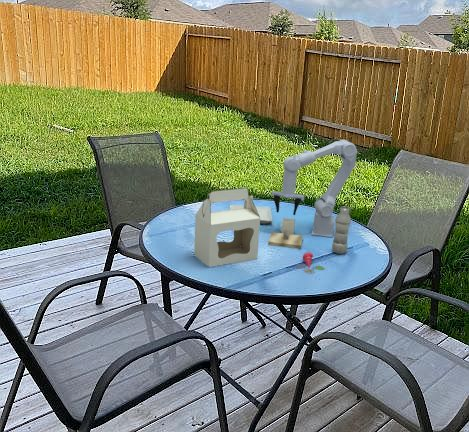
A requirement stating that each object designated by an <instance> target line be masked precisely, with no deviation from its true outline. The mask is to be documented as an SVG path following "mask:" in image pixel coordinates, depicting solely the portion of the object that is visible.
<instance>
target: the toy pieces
mask: <svg viewBox="0 0 469 432" xmlns="http://www.w3.org/2000/svg"><path fill="white" fill-rule="evenodd" d="M313 258H314V254H313V253H312V252H309V251H307V252H305V253H304V254H302V260H303V262H304V263H305V264H306V265H305V264H302V263H301V264H300V263H297V264H296V265H295V266H296V268H297V269H304V270H303V272H304V273H305V274H309V273H310V274H313V270H312V269H310V267H311V265H312V261H313ZM306 267H308V268H306ZM305 268H306V269H305ZM313 269H314V270H317V271H324V270H325V267H323V266H321V265H315V266H314V267H313Z"/></svg>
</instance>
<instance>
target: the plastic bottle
mask: <svg viewBox="0 0 469 432" xmlns="http://www.w3.org/2000/svg"><path fill="white" fill-rule="evenodd" d="M349 213H350V207H349V206H345V205H343V206H340V208H339V213H338V214H337V216H335V221H334V222H335V228H334V236H333V241H332V244H331V250H332V251H333V252H334V253H336V254H340V255H342V254H345V253H346V252H347V251H348V244H349V243H348V238H349V237H348V235H349V229H350V227H351V223H352V218H351V216H350V214H349Z"/></svg>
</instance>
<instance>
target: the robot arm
mask: <svg viewBox="0 0 469 432" xmlns="http://www.w3.org/2000/svg"><path fill="white" fill-rule="evenodd" d="M331 154H335V155H339V156H340V158H341V162H342V164H341V165H340V167H339V169H338V170H337V172H336V174H335V175H334V176H333V177H334V178H333V179H332V181H331V182H330V184H329V186H328V187H327V189H326V190H325V192H324V193H323V194H321V195H320V196H319V198H317V199H316V200H315V202H314V205H313V207H314V209H315V212H314V217H313V218H314V219H313V226H312V227H313V228H311V235H312V236H317V237H318V236H319V237H327V238H328V237H329V238H334V236H333V235H334V233H335V222H336V221H335V220H336V216H334V215H332V214H333V213H334V208H335V206H336V199H337V197H338V195H339V194H340V192H341V190H342V189H343V187H344V185H346V182H347V181H348V179H349V177H350V175H351V174H352V172H353V171H354V168H355V167H356V164H357V154H358V149H357V146H356V145H355V144H354V143H352V142H350V141H348V140H346V139H339V140H335V141H334V142H332V143H330V144H328V145H326V146H323V147H320V148H318V149H316V150H314V151H311V150H307V149H305V150H303V152H302V153H299V154H293V157H292V156H287V157H286V158H285V159H284V161H283V163H282V165H283V167H284V172H283V178H282V186H281V191H280V190H279V191H275V190H272V191H271V196H272V197H273V201H274V204H275V210H276V213H279V212H280V201H281V198H287V199H293V200H294V206H293V207H294V209H293V216H295V215H296V212H297V210H298V207H299V206H300V203H301V202H303V201H305V194H304V195H303V194H299V193H296V185H297V178H298V177H297V174H298V171H299V169H300V168H304V167H306V166H308V165H311V164H313V163H315V161H316V160H317V159H320V158H322V157H326V156H329V155H331Z"/></svg>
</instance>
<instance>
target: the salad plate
mask: <svg viewBox="0 0 469 432" xmlns="http://www.w3.org/2000/svg"><path fill="white" fill-rule="evenodd" d="M255 207H256V209H257V212H258V214H259V216H260V225H261V224H262V225H264V224H271V223H272V222H273V217H272V216H273V215H272V212H271V210H272V209H271V207H269V206H259V205H255ZM239 208H244V204H229V210H231V209H239Z"/></svg>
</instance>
